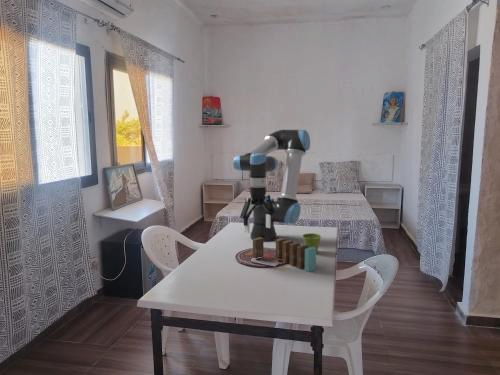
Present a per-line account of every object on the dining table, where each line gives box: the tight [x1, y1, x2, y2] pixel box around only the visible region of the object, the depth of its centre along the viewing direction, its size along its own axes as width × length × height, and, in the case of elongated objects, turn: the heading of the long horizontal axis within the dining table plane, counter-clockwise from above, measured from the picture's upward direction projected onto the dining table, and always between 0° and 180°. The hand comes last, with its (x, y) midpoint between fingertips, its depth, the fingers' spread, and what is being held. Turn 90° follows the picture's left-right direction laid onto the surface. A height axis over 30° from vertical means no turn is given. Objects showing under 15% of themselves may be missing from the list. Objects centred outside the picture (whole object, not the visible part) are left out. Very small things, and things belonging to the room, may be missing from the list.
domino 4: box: [289, 241, 302, 267], centre depth 174 cm, size 2×5×10 cm, turn 131°
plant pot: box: [301, 233, 322, 254], centre depth 191 cm, size 9×9×9 cm
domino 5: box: [296, 243, 308, 270], centre depth 170 cm, size 2×5×10 cm, turn 130°
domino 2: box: [275, 237, 287, 260], centre depth 181 cm, size 2×5×10 cm, turn 130°
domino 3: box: [281, 239, 294, 264], centre depth 177 cm, size 2×5×10 cm, turn 131°
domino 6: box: [304, 247, 317, 273], centre depth 167 cm, size 2×5×10 cm, turn 130°
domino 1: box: [252, 237, 265, 259], centre depth 182 cm, size 2×5×10 cm, turn 131°
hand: (257, 230), depth 180 cm, fingers open, 13 cm apart
